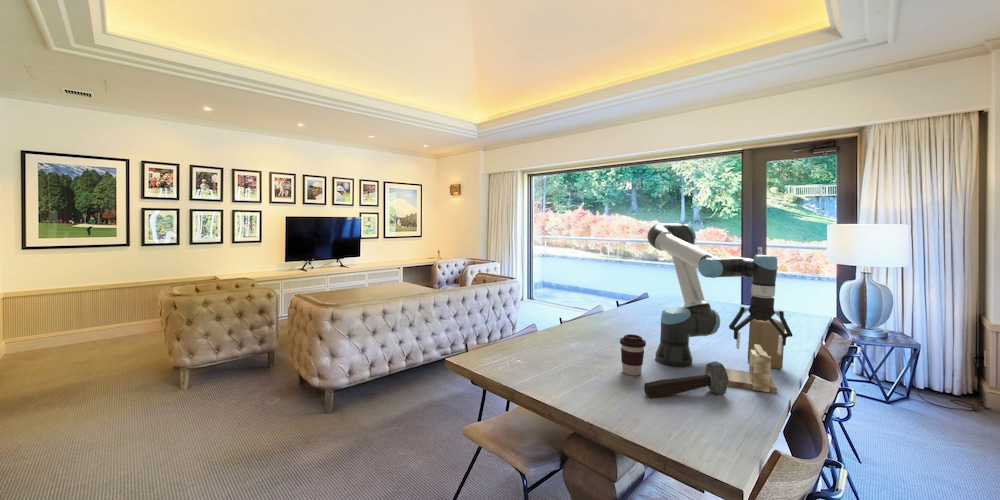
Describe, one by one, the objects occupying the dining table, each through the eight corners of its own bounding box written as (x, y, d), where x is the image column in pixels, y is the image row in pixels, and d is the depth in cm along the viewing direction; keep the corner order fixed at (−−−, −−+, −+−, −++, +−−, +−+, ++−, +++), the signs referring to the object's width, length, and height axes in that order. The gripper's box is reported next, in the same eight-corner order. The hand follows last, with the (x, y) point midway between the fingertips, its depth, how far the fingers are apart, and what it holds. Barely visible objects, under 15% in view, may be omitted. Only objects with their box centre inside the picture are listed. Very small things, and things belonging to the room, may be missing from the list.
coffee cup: (648, 372, 165) (650, 336, 163) (638, 379, 157) (639, 341, 156) (625, 366, 171) (626, 331, 170) (614, 372, 164) (615, 336, 163)
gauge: (752, 389, 148) (755, 354, 147) (747, 376, 161) (749, 343, 160) (769, 392, 146) (771, 356, 145) (762, 378, 159) (764, 345, 158)
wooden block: (770, 361, 180) (772, 317, 178) (783, 369, 170) (786, 323, 168) (746, 360, 181) (748, 316, 179) (758, 368, 171) (761, 322, 169)
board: (714, 383, 154) (714, 378, 154) (712, 371, 167) (712, 366, 167) (776, 393, 146) (776, 387, 146) (769, 379, 159) (769, 374, 158)
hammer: (651, 409, 140) (729, 394, 144) (648, 378, 139) (727, 364, 143) (644, 403, 145) (720, 389, 148) (641, 373, 144) (718, 359, 147)
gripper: (725, 294, 154) (721, 348, 156) (805, 301, 143) (800, 359, 145) (724, 290, 161) (720, 342, 163) (800, 297, 150) (795, 352, 152)
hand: (758, 350), depth 154 cm, fingers open, 13 cm apart
